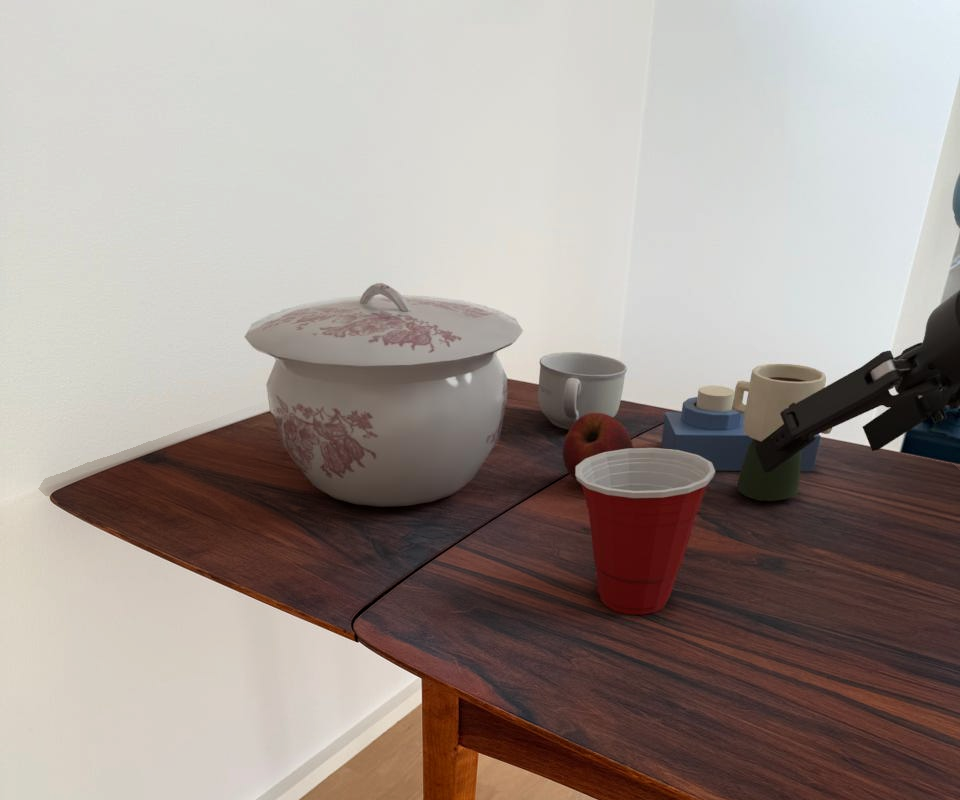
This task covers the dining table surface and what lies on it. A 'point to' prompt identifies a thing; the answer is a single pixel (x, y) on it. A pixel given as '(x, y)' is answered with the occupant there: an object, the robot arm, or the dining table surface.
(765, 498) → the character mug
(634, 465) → the plastic cup
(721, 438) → the blue rectangular block
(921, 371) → the robot arm
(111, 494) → the dining table surface
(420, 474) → the chamber pot
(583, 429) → the apple
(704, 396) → the button
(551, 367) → the teacup
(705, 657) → the dining table surface
